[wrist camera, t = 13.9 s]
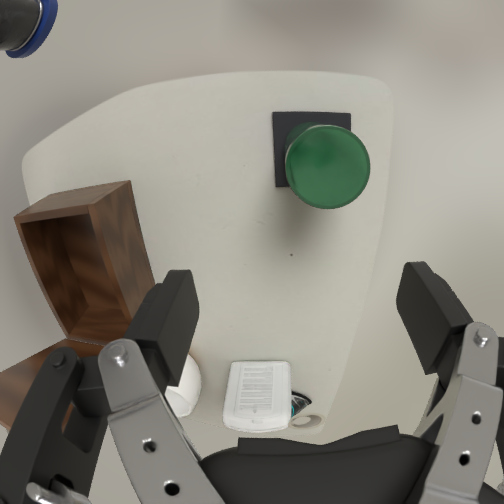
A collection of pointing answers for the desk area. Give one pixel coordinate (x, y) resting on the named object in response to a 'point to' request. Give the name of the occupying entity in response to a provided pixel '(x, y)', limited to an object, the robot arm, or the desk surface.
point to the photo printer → (258, 396)
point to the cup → (185, 389)
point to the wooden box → (88, 259)
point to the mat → (289, 120)
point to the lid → (23, 374)
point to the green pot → (325, 164)
